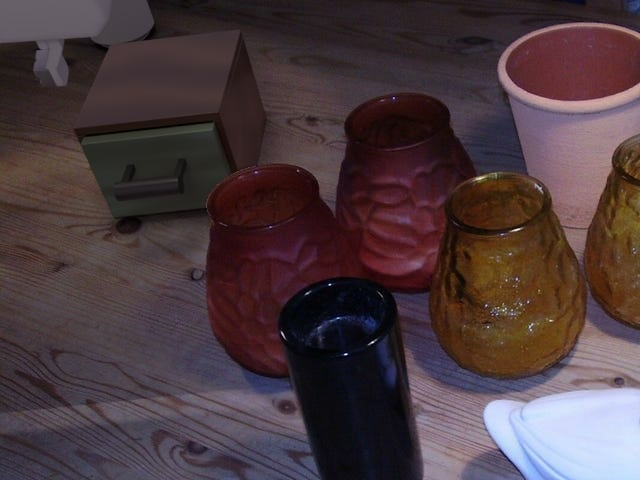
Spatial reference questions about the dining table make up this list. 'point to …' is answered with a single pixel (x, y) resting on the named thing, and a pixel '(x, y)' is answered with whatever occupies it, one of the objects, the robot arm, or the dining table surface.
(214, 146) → the drawer
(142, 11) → the can
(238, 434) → the dining table surface
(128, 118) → the cabinet
